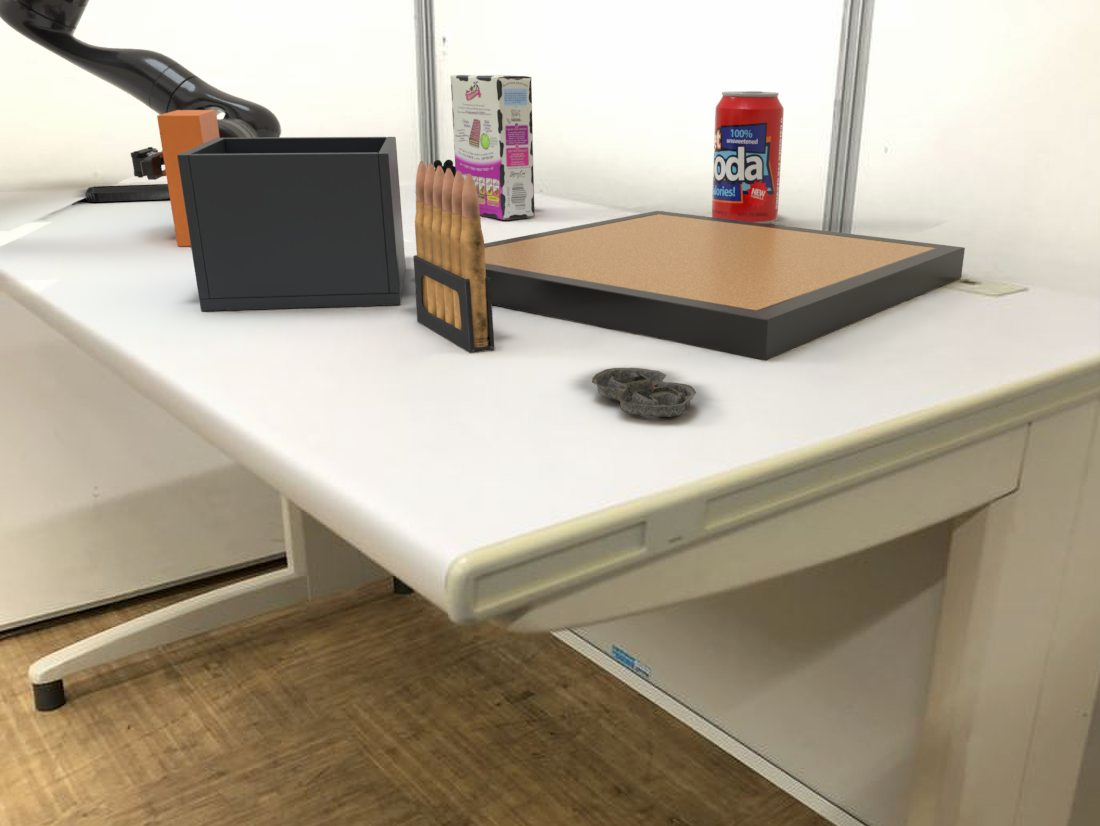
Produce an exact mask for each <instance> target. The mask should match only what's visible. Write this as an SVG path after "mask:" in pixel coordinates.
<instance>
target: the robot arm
mask: <svg viewBox="0 0 1100 826" xmlns="http://www.w3.org/2000/svg"><path fill="white" fill-rule="evenodd" d="M89 3H90V0H0V19H1V20H2V21H3V22H4V23H5V24H6V25H8V26H9V27H10V28H12V29H13V30H14V31H15V32H17V33H18V34H20V35H22V36H23V37H25V38H27V39H28V40H30V41H32V42H33V43H35V44H37V45H39V46H40V47H42V48H44V49H46V50H48V51H49V52H51V53H52V54H55V55H57V56H58V57H60V58H62V59H64V60H65V61H68V62H69V63H71V64H73V65H74V66H76V67H78V68H80V69H81V70H83V71H85V72H87V73H89V74H91V75H93V76H95V77H97V78H99V79H100V80H103V81H104V82H106V83H108V84H110V85H112V86H113V87H116V88H118V89H120V90H121V91H123V92H125V93H126V94H127V95H130V96H132V97H133V98H135V99H136V100H137V101H139V102H141V103H142V104H143V105H145V106H147V107H148V108H149V109H151V110H152V111H153V112H155V113H156V114H158V115H161V114H165V113H168V112H172V111H176V110H216V114H217V116H218V115H220V114H223V113H224V116H223V118H221V119H218V118H217V122H218V129H219V136H220V138H263V137H281V135H282V126H281V122H280V121H279V119H278V117H277V116H276V115H275V113H274V112H273V111H271V110H270V109H269V108H267V107H266V106H263V105H261V104H258V103H257V102H253V101H251V100H248V99H245V98H242V97H239V96H235V95H233V94H230V93H228V92H226V91H223V90H221V89H218V88H217V87H215V86H213V85H211V83H208V82H206V81H204V79H202V78H200V77H199V76H198V75H196V74H194V73H193V72H192V71H191V70H189V69H188V68H186V67H184V66H183V65H182V64H181V63H179V62H177V61H176V60H175V59H173V58H172V57H170V56H167V55H165V54H163V53H161V52H158V51H154V50H149V49H143V48H123V47H121V48H120V47H107V46H106V47H105V46H97V45H92V44H90V43H88V42H84V41H82V40H80V39H78V38H77V37H75V36H74V34H75V32H76V30H77V27H78V26H79V24H80V21H81V19H82V17H83V14H84V12H85V11H86V9H87V7H88V4H89ZM130 158H131V162H132V169H133V176H134V177H136V178H138V179H139V178H140V179H141V178H142V179H143V178H144V177H146V178H147V180H148V181H154V180H155V181H156V180H159V179H160V178H163V177H167V176H166V170H165V169H163V168H162V166H165V163H164V157H163V151H162V150H161V151H159V150H158V149H157V148H156V147H153V146H147V148H142V149H138V150H134V151H133V152H130Z"/></svg>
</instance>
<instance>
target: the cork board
mask: <svg viewBox="0 0 1100 826" xmlns="http://www.w3.org/2000/svg"><path fill="white" fill-rule="evenodd" d="M484 248H485V267H486V276H488V277H490V284H491V300H492V306H496V307H502V308H506V309H512V310H517V311H521V312H527V313H531V314H537V315H541V316H546V317H551V318H556V319H561V320H566V321H570V322H575V323H580V324H585V325H590V326H595V327H601V328H606V329H609V330H616V331H621V332H625V333H631V334H635V335H639V336H645V337H650V338H655V339H658V340H659V339H660V340H664V341H670V342H674V343H680V344H685V345H689V346H694V347H698V348H704V349H708V350H714V351H719V352H724V353H729V354H734V355H739V356H743V357H749V358H753V359H758V360H763V361H767V360H769V359H772V358H774V357H777V356H779V355H781V354H783V353H786V352H788V351H790V350H793V349H795V348H797V347H801V346H803V345H805V344H807V343H809V342H812V341H814V340H817V339H820V338H822V337H824V336H826V335H828V334H831V333H834V332H836V331H838V330H840V329H843V328H846V327H848V326H850V325H852V324H855V323H858V322H859V321H862V320H864V319H867V318H868V317H869V318H870V317H871V316H874V315H876V314H879V313H881V312H884V311H886V310H888V309H891V308H893V307H896V306H898V305H900V304H903V303H905V302H907V301H910V300H913V299H915V298H917V297H919V296H921V295H924V294H926V293H928V292H931V291H933V290H936V289H938V288H940V287H943V286H945V285H948V284H950V283H953V282H955V281H957V280H960V279H962V275H963V267H964V259H965V250H966V247H963V246H956V245H947V244H938V243H931V242H929V243H928V242H922V241H914V240H905V239H898V238H888V237H880V236H872V235H871V236H870V235H863V234H857V233H856V234H854V233H846V232H839V231H831V230H821V229H815V228H813V229H812V228H805V227H797V226H796V227H795V226H789V225H779V224H772V223H770V224H764V223H756V222H747V221H739V220H731V219H722V218H714V217H712V216H705V215H698V214H697V215H696V214H688V213H681V212H680V213H679V212H671V211H663V210H654V211H648V212H643V213H638V214H633V215H628V216H623V217H616V218H610V219H607V220H600V221H596V222H591V223H585V224H580V225H575V226H569V227H563V228H559V229H554V230H548V231H541V232H538V233H533V234H528V235H527V234H526V235H521V236H517V237H512V238H507V239H501V240H495V241H489V242H486V243H485V242H484Z"/></svg>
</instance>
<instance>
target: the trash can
mask: <svg viewBox="0 0 1100 826" xmlns="http://www.w3.org/2000/svg"><path fill="white" fill-rule="evenodd" d="M396 138H397V137H396V136H304V137H303V136H297V137H296V136H287V137H286V136H284V137H281V136H280V137H263V138H215V139H213V140H211V141H208V142H206V143H204V144H202V145H199V146H197V147H195V148H192V149H190V150H188V151H186V152H183V153H181V154H179V155H177V157H178V164H179V170H180V177H181V184H182V190H183V197H184V203H185V210H186V216H187V223H188V229H189V236H190V242H191V246H190V248H191V255H192V261H193V268H194V275H195V281H196V287H197V288H196V289H197V294H198V295H197V296H198V300H199V306H200V311H201V312H219V311H250V310H281V309H282V310H284V309H285V310H286V309H315V308H319V309H320V308H348V307H349V308H350V307H377V306H379V307H380V306H381V307H382V306H383V307H384V306H400V305H401V303H402V295H403V289H404V281H405V277H406V276H405V275H406V257H405V256H406V253H405V239H404V228H403V215H402V202H401V201H402V200H401V189H400V187H401V186H400V176H399V162H398V148H397V139H396Z"/></svg>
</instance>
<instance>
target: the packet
mask: <svg viewBox="0 0 1100 826" xmlns="http://www.w3.org/2000/svg"><path fill="white" fill-rule="evenodd" d="M156 118H157V126H158V130H159V131H158V132H159V137H160V144H161V151H163V157H164V163H165V165H164V170H166V176H165V177H166V181H167V184H168V189H169V195H170V199H169V201H170V207H171V212H172V219H173V227H174V234H175V240H176V244H177V247H191V242H190V236H189V229H188V223H187V216H186V210H185V203H184V197H183V190H182V184H181V177H180V170H179V164H178V157H177V155H179V154H181V153H183V152H186V151H188V150H190V149H192V148H195V147H197V146H199V145H202V144H204V143H206V142H208V141H211V140H213V139H215V138H220V136H219V129H218V122H217V119H218V115H217V114H216V110H176V111H172V112H168V113H165V114H161V115H159V114H158V115H156Z"/></svg>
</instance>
